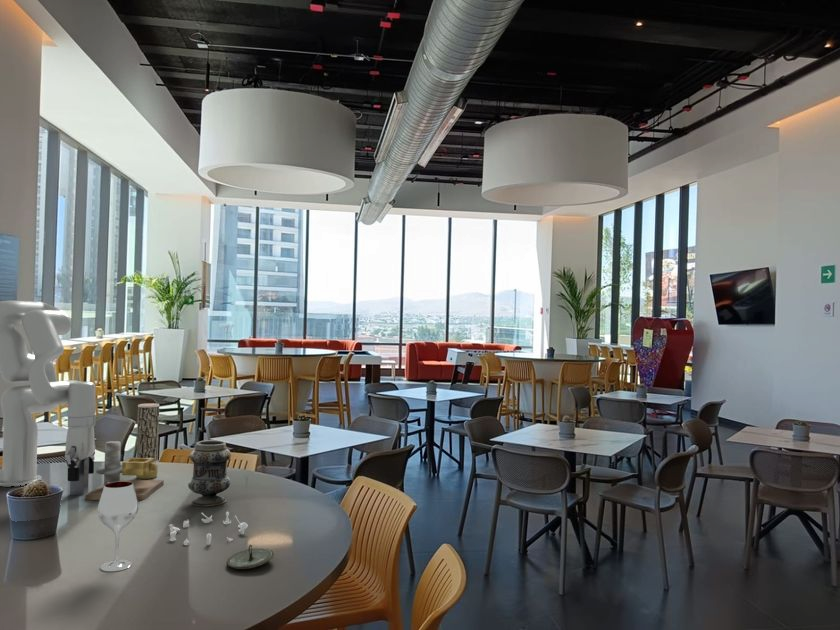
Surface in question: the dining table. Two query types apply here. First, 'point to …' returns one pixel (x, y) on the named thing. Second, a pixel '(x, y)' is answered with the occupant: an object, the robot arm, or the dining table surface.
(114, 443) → the board
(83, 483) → the grey rectangular bar
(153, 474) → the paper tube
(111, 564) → the wineglass
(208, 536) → the game piece set
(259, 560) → the lid
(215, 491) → the apothecary jar
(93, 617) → the dining table surface
